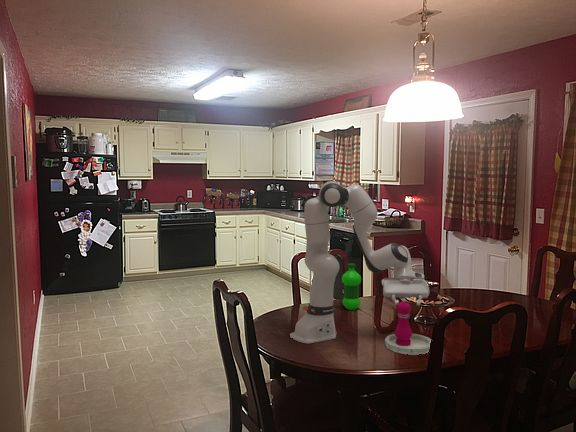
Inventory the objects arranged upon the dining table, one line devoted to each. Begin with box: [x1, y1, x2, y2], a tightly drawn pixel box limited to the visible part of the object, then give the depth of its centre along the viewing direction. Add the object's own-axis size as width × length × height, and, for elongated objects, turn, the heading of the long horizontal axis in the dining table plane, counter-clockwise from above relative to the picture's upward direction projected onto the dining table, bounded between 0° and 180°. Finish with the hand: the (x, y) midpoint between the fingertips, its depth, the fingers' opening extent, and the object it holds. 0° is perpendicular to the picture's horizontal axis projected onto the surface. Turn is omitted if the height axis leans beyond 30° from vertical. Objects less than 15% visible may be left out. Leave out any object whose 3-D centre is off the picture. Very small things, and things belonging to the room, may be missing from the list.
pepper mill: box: [394, 298, 413, 346], centre depth 211 cm, size 7×7×20 cm
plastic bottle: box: [341, 263, 362, 311], centre depth 268 cm, size 10×10×25 cm
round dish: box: [384, 333, 432, 356], centre depth 211 cm, size 20×20×2 cm
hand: (407, 304), depth 213 cm, fingers open, 8 cm apart
